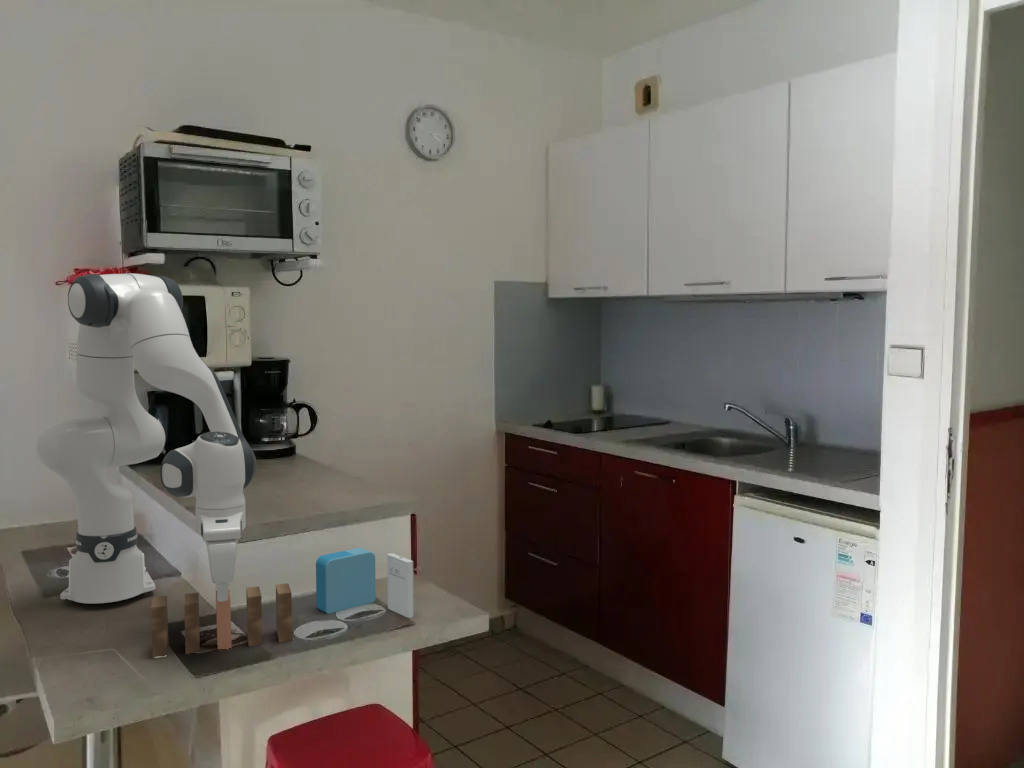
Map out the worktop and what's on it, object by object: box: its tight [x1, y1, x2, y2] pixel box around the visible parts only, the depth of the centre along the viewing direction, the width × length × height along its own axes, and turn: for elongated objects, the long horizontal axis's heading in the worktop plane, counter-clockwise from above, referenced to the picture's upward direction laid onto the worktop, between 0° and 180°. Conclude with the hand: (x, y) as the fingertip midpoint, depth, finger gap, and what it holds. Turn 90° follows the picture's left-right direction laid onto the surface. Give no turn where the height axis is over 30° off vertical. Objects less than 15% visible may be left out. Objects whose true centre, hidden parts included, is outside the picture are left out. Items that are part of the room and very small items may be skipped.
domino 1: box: [150, 595, 169, 658], centre depth 153 cm, size 2×6×10 cm, turn 20°
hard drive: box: [386, 552, 415, 619], centre depth 173 cm, size 2×8×12 cm, turn 41°
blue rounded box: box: [315, 547, 377, 615], centre depth 178 cm, size 12×4×12 cm, turn 131°
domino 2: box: [183, 592, 201, 654], centre depth 155 cm, size 2×6×10 cm, turn 21°
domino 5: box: [275, 583, 293, 643], centre depth 161 cm, size 2×6×10 cm, turn 21°
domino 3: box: [215, 588, 232, 650], centre depth 157 cm, size 2×6×10 cm, turn 21°
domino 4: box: [245, 586, 263, 647], centre depth 159 cm, size 2×6×10 cm, turn 20°
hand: (221, 592), depth 157 cm, fingers open, 8 cm apart
